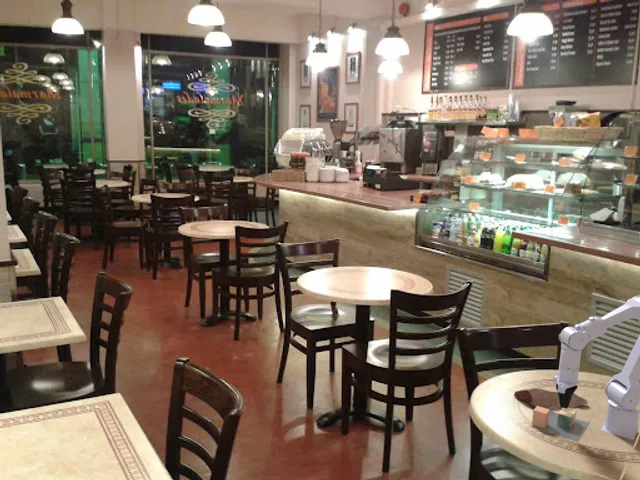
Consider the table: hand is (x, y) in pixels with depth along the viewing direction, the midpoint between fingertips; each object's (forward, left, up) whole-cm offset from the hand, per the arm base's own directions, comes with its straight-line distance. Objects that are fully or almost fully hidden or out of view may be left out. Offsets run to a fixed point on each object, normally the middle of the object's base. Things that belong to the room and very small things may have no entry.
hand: (564, 407), depth 195 cm
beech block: (0, -3, -6) cm, 7 cm away
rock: (+9, -21, -9) cm, 24 cm away
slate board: (+1, -4, -9) cm, 10 cm away
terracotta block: (+7, 0, -8) cm, 10 cm away
